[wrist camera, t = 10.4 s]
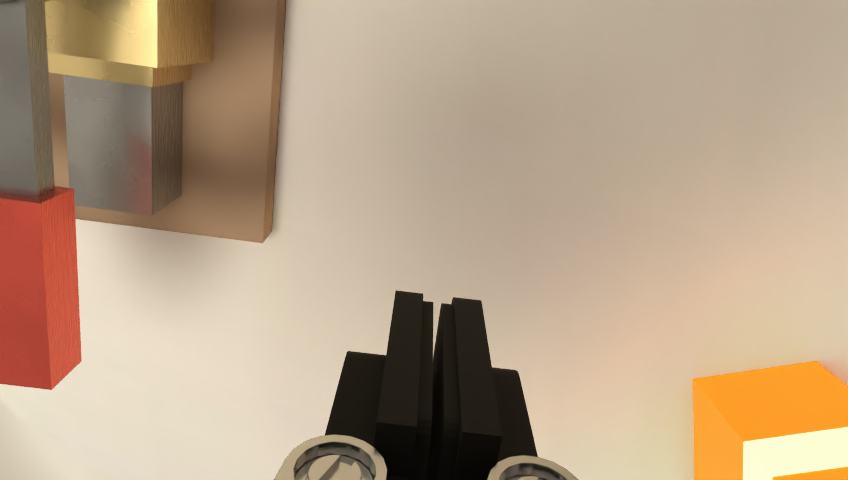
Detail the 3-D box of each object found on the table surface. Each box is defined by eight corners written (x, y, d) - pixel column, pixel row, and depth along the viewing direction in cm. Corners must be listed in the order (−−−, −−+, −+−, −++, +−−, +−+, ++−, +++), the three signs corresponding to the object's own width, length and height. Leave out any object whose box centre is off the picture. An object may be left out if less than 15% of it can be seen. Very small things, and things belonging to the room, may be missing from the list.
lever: (71, -98, 18) (11, -122, 15) (89, 361, 23) (47, 403, 21) (-38, -116, 18) (-117, -143, 15) (5, 351, 23) (-49, 392, 20)
